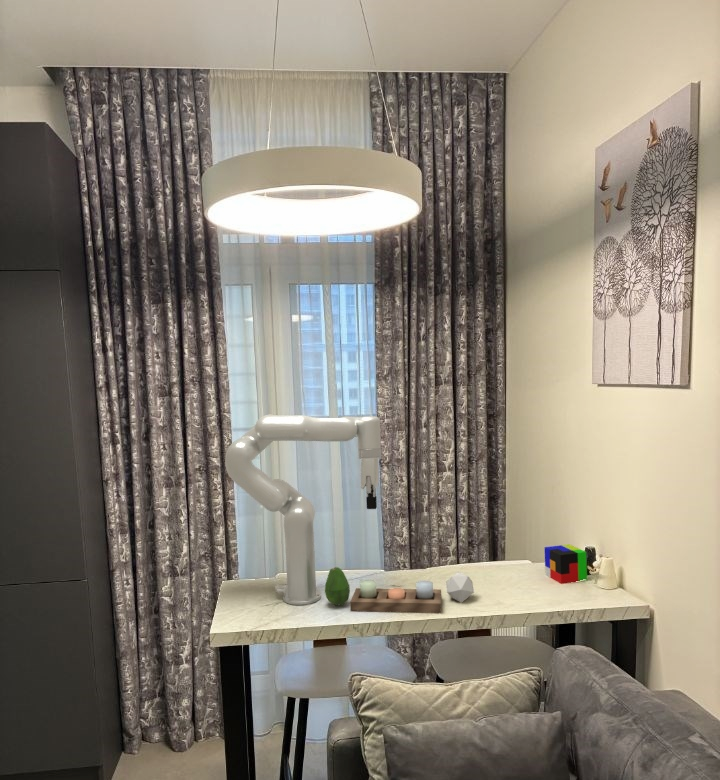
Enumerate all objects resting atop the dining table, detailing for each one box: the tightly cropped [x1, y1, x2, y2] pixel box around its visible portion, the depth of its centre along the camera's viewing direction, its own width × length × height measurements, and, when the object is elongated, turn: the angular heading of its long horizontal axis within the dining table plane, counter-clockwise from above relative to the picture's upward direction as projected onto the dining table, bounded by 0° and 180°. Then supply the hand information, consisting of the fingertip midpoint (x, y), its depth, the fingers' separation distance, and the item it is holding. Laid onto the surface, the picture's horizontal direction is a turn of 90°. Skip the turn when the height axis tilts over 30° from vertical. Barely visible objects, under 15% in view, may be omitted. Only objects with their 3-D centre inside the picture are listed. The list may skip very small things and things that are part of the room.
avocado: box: [324, 566, 351, 606], centre depth 190 cm, size 8×8×12 cm
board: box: [349, 587, 442, 614], centre depth 188 cm, size 28×12×3 cm, turn 82°
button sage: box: [359, 579, 377, 598], centre depth 189 cm, size 5×5×4 cm
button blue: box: [415, 580, 434, 599], centre depth 187 cm, size 5×5×4 cm
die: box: [445, 571, 475, 603], centre depth 191 cm, size 8×9×10 cm
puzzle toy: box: [543, 544, 588, 585], centre depth 207 cm, size 10×10×10 cm
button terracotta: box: [388, 587, 405, 599], centre depth 188 cm, size 5×5×4 cm
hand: (371, 508), depth 197 cm, fingers closed
